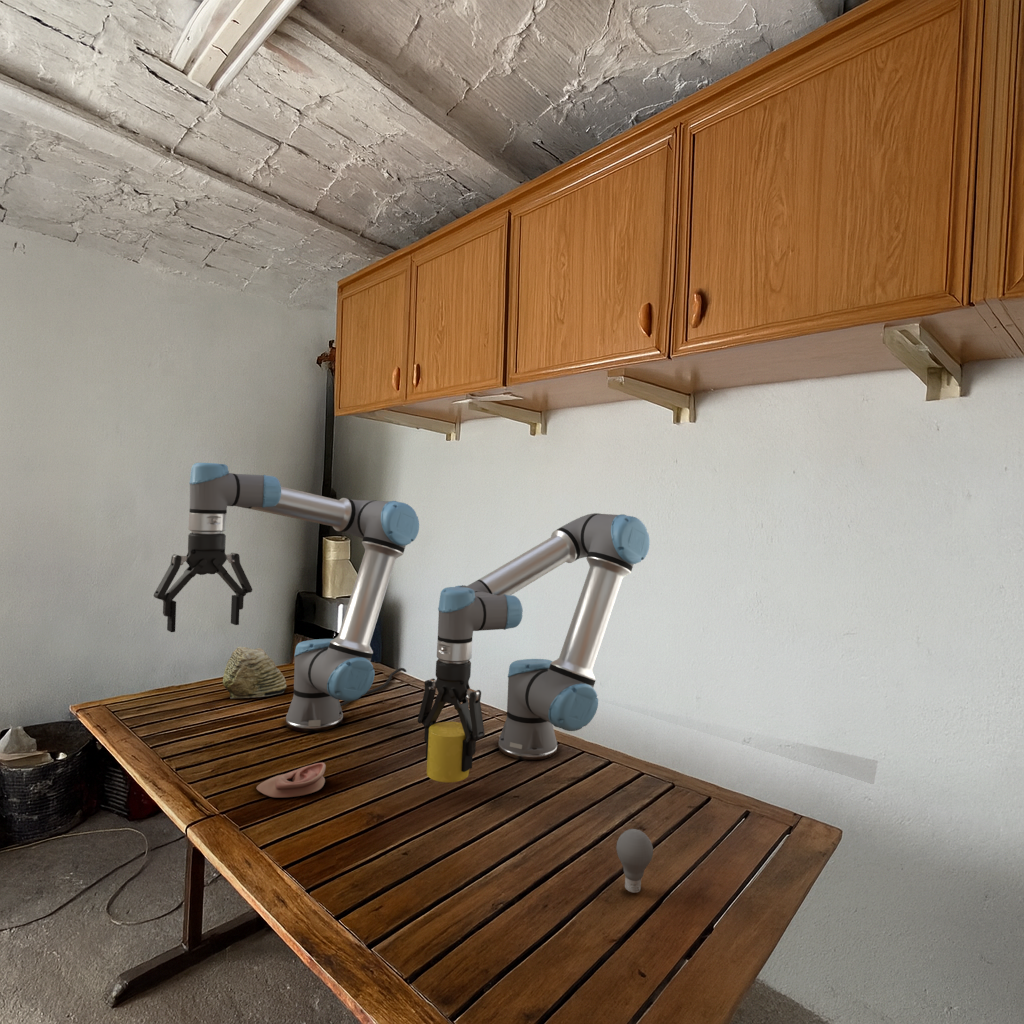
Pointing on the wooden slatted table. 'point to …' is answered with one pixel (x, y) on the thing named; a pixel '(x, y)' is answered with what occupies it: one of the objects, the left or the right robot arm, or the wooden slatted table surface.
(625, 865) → the light bulb
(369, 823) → the wooden slatted table surface
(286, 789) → the anatomical model
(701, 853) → the wooden slatted table surface
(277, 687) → the fossil
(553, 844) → the wooden slatted table surface
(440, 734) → the yellow cylinder
